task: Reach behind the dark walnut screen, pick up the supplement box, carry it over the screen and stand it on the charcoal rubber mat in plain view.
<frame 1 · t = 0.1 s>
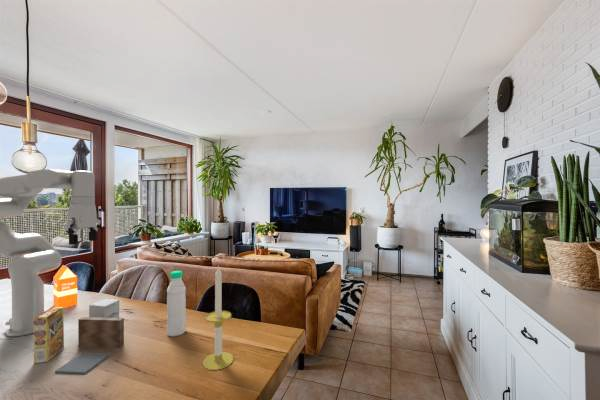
hand: (83, 242, 112), 37 cm above the table, tool pointing down, fingers open, 9 cm apart
orange juice: (65, 305, 140), on the table
walnut screen: (101, 345, 101), on the table
candle: (218, 361, 91), on the table
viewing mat: (83, 363, 90), on the table
water bottle: (176, 333, 111), on the table
supplement box: (104, 333, 110), on the table
candy box: (49, 356, 94), on the table
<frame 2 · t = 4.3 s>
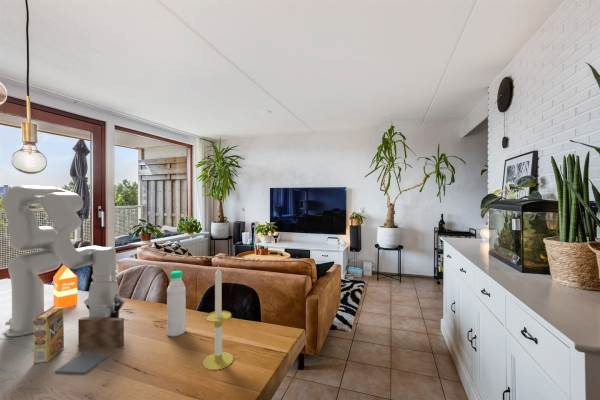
hand: (104, 320, 110), 5 cm above the table, tool pointing down, fingers closed on supplement box, 7 cm apart
supplement box: (104, 333, 110), on the table, touching gripper
everything else where it was.
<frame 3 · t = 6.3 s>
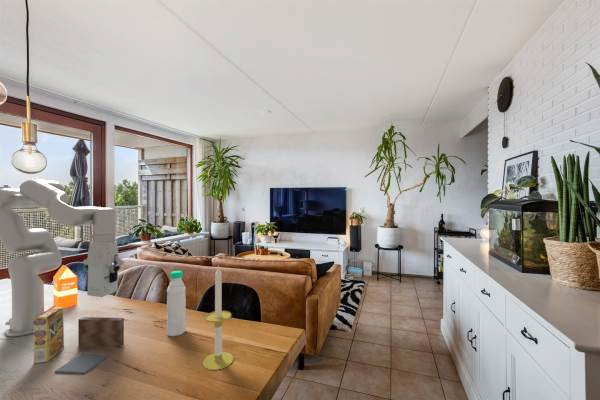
hand: (103, 281, 110), 21 cm above the table, tool pointing down, fingers closed on supplement box, 7 cm apart
supplement box: (103, 293, 110), point 16 cm above the table, touching gripper
everything else where it was.
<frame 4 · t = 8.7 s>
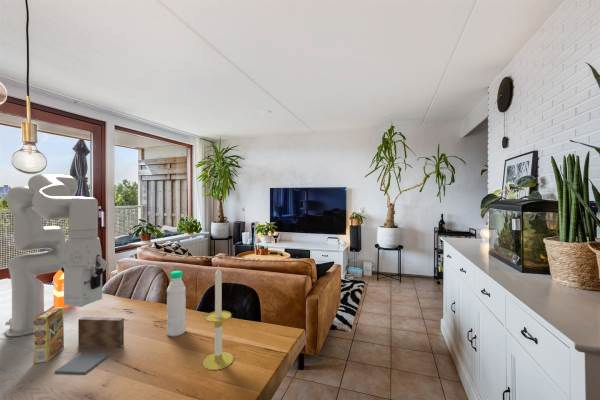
hand: (83, 287, 90), 25 cm above the table, tool pointing down, fingers closed on supplement box, 7 cm apart
supplement box: (83, 302, 90), point 20 cm above the table, touching gripper
everything else where it was.
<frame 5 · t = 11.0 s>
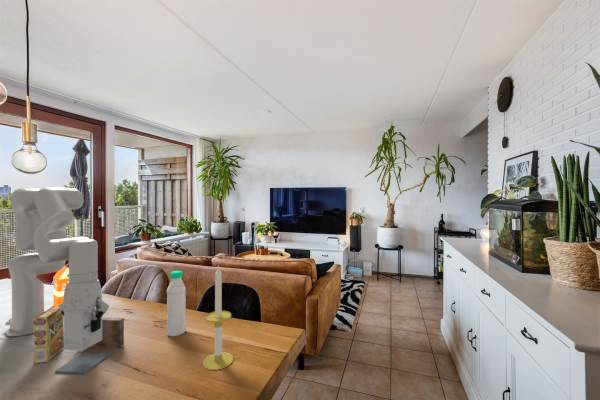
hand: (83, 329, 90), 11 cm above the table, tool pointing down, fingers closed on supplement box, 7 cm apart
supplement box: (83, 345, 90), point 6 cm above the table, touching gripper
everything else where it was.
when the fingers open (7 cm above the table, at t = 13.1 s): supplement box moves 1 cm, resting on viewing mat.
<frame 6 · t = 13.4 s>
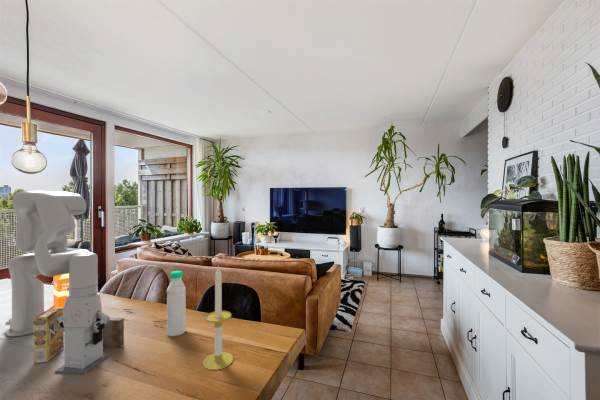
hand: (83, 342, 90), 7 cm above the table, tool pointing down, fingers open, 9 cm apart
supplement box: (84, 362, 90), resting on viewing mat
everything else where it was.
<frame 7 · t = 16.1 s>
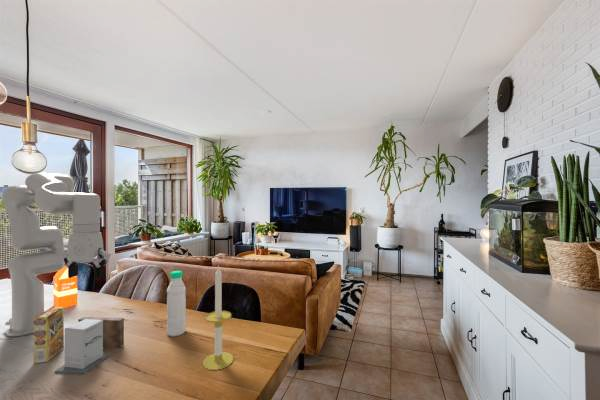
hand: (86, 277, 95), 27 cm above the table, tool pointing down, fingers open, 9 cm apart
nothing on the table moved.
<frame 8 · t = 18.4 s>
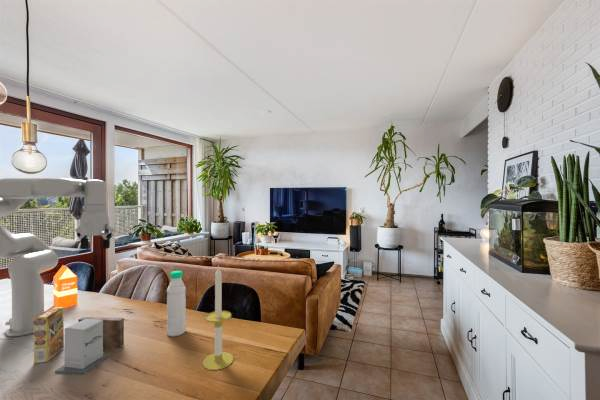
hand: (95, 248, 117), 33 cm above the table, tool pointing down, fingers open, 9 cm apart
nothing on the table moved.
at the end: supplement box 0.1 cm off-centre on the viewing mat, point 0.4 cm above the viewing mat's base; supplement box tilted 0°; the gripper is holding nothing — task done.
